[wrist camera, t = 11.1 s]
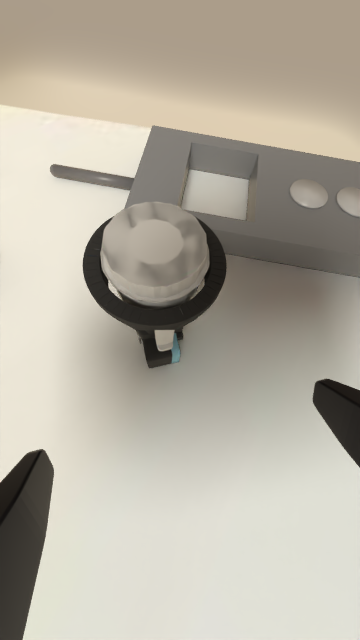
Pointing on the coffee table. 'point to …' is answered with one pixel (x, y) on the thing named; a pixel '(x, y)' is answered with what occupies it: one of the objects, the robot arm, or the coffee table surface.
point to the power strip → (255, 197)
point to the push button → (155, 273)
